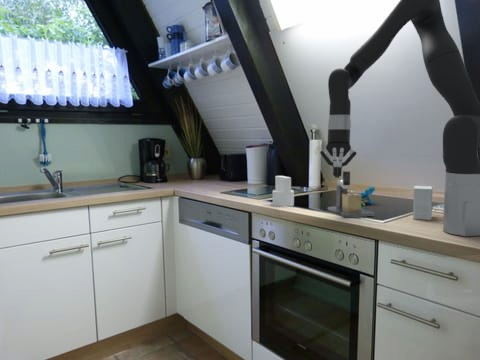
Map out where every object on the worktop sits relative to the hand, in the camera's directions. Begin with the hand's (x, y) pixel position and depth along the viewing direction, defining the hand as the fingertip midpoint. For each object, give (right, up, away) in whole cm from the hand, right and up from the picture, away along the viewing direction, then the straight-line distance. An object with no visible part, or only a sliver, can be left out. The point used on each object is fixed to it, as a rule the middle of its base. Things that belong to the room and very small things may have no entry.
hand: (337, 177), depth 127 cm
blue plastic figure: (+17, -11, +22) cm, 30 cm away
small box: (+28, -14, -5) cm, 32 cm away
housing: (+6, -12, +4) cm, 14 cm away
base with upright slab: (-16, -12, +25) cm, 32 cm away
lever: (+4, -4, +5) cm, 8 cm away
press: (+6, -13, +5) cm, 15 cm away
